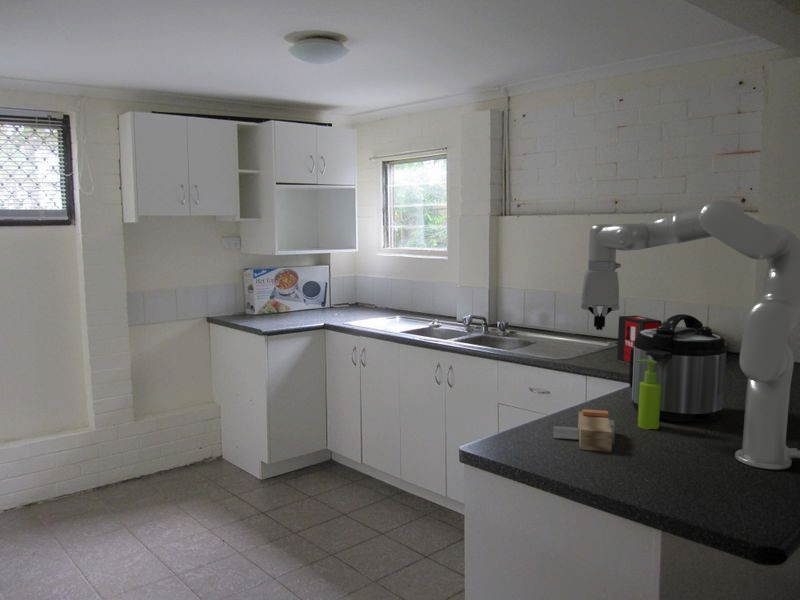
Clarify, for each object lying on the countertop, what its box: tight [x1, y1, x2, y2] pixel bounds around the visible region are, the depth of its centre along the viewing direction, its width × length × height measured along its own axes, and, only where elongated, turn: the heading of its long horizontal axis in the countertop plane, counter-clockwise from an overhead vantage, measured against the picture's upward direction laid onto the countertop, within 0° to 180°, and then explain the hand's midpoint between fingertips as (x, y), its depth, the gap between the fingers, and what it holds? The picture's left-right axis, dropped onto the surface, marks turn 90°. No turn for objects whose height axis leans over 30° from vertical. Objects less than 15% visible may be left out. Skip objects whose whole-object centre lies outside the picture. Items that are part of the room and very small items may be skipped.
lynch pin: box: [552, 419, 616, 445], centre depth 186 cm, size 16×5×5 cm, turn 77°
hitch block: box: [577, 411, 613, 453], centre depth 186 cm, size 8×18×5 cm, turn 167°
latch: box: [581, 408, 609, 418], centre depth 191 cm, size 7×3×1 cm, turn 77°
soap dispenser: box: [637, 359, 661, 430], centre depth 198 cm, size 6×7×20 cm
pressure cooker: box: [628, 313, 727, 423], centre depth 212 cm, size 30×28×32 cm
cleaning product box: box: [616, 315, 663, 363], centre depth 285 cm, size 16×9×20 cm, turn 17°
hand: (599, 329), depth 196 cm, fingers closed
